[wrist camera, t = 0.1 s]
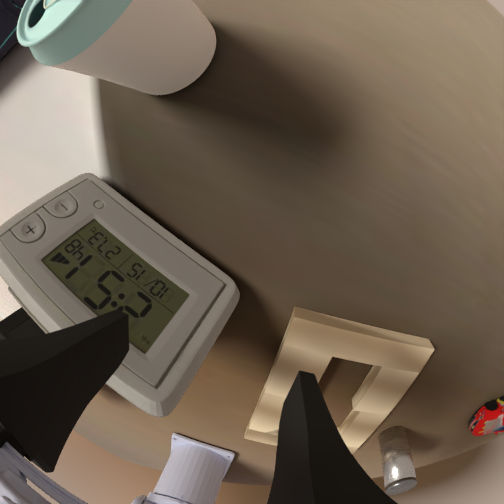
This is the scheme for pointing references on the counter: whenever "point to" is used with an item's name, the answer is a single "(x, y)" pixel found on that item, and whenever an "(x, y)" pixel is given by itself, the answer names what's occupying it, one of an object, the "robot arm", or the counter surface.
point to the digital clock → (118, 285)
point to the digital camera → (19, 326)
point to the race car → (488, 418)
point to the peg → (396, 461)
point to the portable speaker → (9, 24)
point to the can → (121, 40)
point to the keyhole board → (345, 347)
